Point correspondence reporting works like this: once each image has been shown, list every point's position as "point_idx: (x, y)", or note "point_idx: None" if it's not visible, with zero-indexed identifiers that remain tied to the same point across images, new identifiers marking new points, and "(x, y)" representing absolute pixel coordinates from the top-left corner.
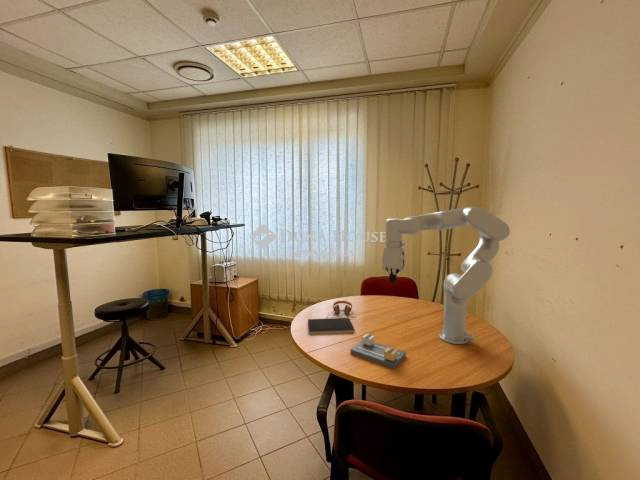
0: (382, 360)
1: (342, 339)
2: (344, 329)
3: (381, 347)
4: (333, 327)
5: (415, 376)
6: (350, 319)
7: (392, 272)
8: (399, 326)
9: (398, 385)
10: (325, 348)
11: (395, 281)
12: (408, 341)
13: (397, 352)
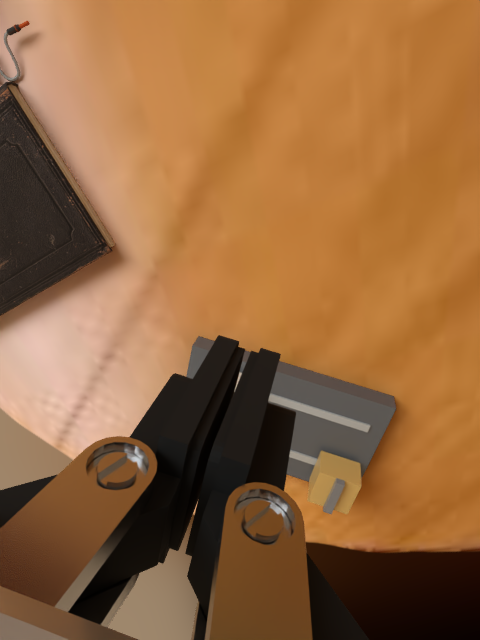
0: (306, 480)
1: (105, 331)
2: (70, 269)
3: (285, 401)
4: (16, 265)
5: (427, 504)
6: (18, 71)
7: (153, 525)
8: (345, 20)
9: (371, 547)
10: (88, 413)
11: (278, 361)
12: (409, 246)
13: (358, 424)
